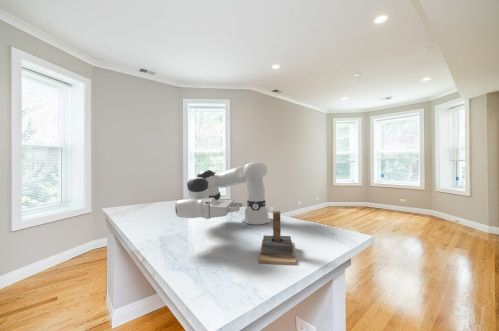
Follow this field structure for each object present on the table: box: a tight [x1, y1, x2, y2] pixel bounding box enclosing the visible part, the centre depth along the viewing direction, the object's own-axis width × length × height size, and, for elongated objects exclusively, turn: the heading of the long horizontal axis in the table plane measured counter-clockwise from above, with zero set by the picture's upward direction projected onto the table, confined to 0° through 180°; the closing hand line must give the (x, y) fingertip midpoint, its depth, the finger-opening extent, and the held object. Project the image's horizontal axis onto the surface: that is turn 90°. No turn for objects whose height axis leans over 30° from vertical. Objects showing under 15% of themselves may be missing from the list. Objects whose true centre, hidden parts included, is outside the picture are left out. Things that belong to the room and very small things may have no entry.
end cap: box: [258, 234, 297, 266], centre depth 99 cm, size 24×14×5 cm, turn 174°
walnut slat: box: [272, 210, 281, 242], centre depth 99 cm, size 3×3×16 cm
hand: (240, 206), depth 102 cm, fingers open, 8 cm apart
